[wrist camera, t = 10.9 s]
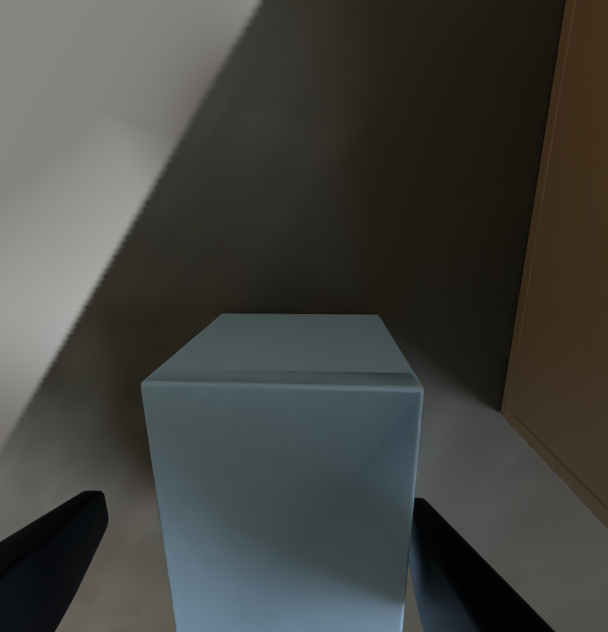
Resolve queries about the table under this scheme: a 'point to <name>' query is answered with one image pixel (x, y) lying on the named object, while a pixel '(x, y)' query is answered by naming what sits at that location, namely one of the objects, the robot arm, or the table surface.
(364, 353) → the case
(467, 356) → the table surface
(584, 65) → the carton
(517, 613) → the robot arm
